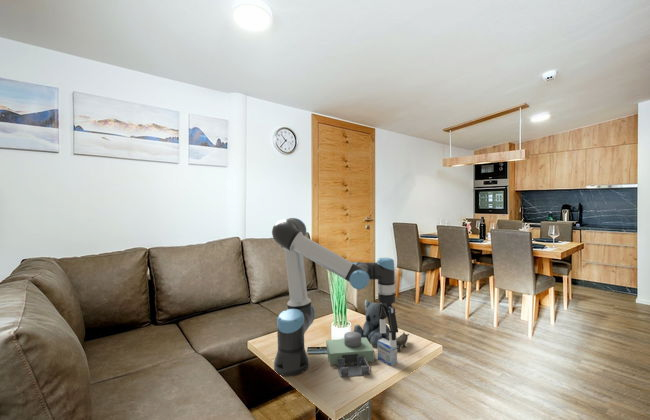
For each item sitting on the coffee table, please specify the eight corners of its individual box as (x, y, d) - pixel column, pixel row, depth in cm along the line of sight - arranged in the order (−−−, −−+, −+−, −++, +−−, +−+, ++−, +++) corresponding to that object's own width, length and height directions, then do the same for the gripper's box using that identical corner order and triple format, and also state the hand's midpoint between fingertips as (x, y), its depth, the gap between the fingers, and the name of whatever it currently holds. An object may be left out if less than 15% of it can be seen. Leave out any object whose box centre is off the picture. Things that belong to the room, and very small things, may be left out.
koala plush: (351, 338, 157) (350, 301, 156) (372, 327, 169) (371, 294, 168) (377, 349, 144) (377, 309, 144) (398, 337, 156) (398, 301, 156)
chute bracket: (340, 377, 121) (340, 369, 121) (336, 365, 130) (336, 357, 130) (369, 374, 123) (369, 366, 123) (364, 363, 132) (363, 355, 131)
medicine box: (377, 359, 135) (377, 340, 135) (383, 355, 138) (383, 337, 138) (391, 366, 129) (391, 346, 129) (397, 362, 132) (397, 343, 132)
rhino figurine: (411, 342, 151) (411, 330, 151) (400, 353, 140) (400, 340, 140) (404, 340, 154) (404, 328, 153) (392, 350, 143) (392, 338, 143)
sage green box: (330, 365, 131) (329, 345, 130) (326, 350, 144) (326, 332, 144) (374, 361, 133) (373, 341, 133) (366, 347, 146) (366, 329, 146)
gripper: (405, 301, 121) (406, 352, 121) (385, 284, 146) (386, 327, 146) (387, 302, 120) (389, 354, 120) (370, 285, 145) (372, 328, 145)
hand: (387, 339), depth 133 cm, fingers open, 13 cm apart
